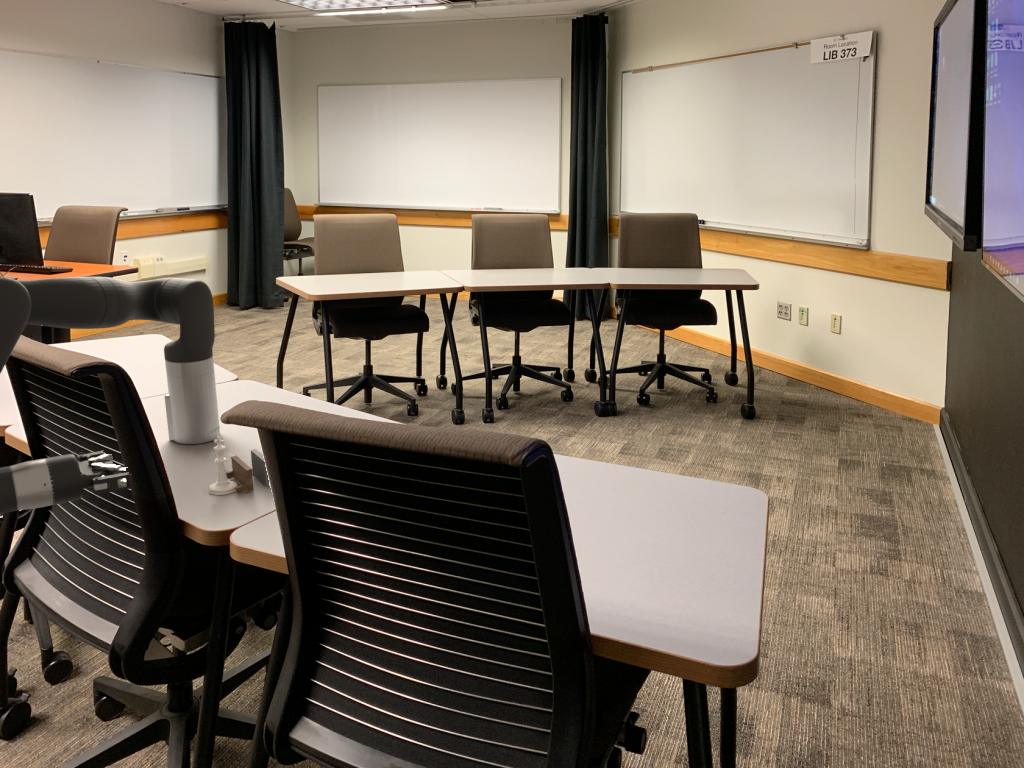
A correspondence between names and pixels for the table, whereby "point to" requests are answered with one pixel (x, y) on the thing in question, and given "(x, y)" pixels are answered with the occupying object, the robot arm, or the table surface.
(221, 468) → the chess piece
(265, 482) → the backstop wall
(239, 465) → the sliding block
